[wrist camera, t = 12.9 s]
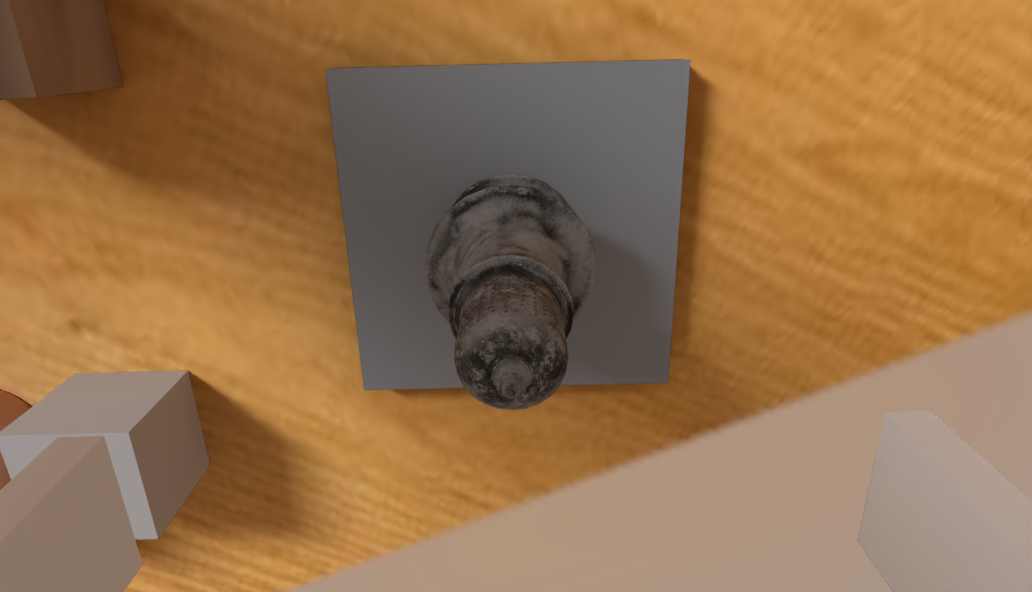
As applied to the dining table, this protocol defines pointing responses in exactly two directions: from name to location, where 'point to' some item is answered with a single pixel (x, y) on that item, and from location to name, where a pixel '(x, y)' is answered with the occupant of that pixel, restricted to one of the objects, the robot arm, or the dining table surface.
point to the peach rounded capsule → (3, 412)
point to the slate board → (518, 150)
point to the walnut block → (55, 48)
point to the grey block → (123, 437)
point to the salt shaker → (510, 286)
